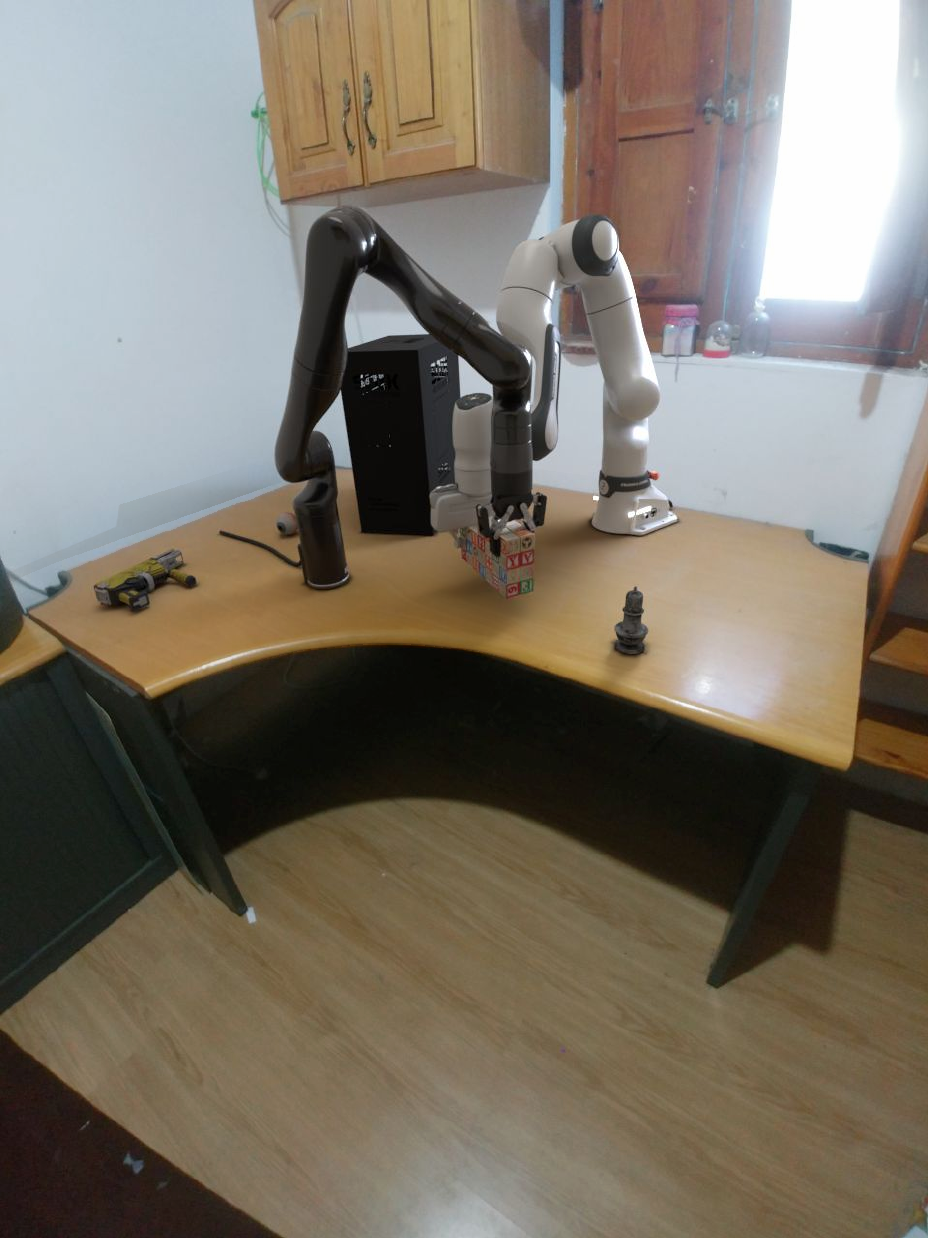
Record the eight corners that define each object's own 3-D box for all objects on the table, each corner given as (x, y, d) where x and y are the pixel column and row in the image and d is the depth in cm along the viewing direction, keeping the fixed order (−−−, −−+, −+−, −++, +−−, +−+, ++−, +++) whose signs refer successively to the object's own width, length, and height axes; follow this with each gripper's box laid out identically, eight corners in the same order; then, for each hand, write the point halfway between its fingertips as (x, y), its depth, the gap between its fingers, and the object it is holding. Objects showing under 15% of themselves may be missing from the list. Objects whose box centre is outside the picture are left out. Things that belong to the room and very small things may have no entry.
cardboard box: (433, 535, 159) (417, 349, 136) (361, 532, 163) (335, 352, 141) (465, 489, 190) (457, 332, 168) (404, 488, 195) (388, 335, 172)
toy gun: (219, 557, 146) (169, 546, 150) (142, 598, 126) (87, 585, 129) (222, 574, 148) (172, 563, 152) (147, 618, 128) (92, 604, 132)
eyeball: (273, 537, 164) (268, 516, 161) (287, 528, 169) (282, 508, 166) (291, 539, 161) (286, 518, 158) (305, 530, 166) (301, 510, 163)
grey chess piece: (647, 656, 105) (654, 595, 99) (612, 653, 107) (618, 593, 101) (645, 638, 110) (652, 579, 104) (612, 636, 111) (617, 578, 105)
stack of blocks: (460, 559, 133) (457, 505, 127) (485, 553, 135) (484, 500, 129) (506, 599, 116) (505, 539, 110) (534, 591, 118) (535, 532, 112)
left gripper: (484, 477, 102) (487, 567, 110) (557, 463, 107) (554, 550, 115) (466, 467, 108) (470, 552, 116) (535, 454, 113) (534, 537, 121)
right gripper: (434, 492, 116) (439, 557, 123) (527, 475, 123) (526, 538, 130) (423, 483, 121) (428, 547, 128) (512, 467, 128) (512, 528, 135)
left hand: (512, 551), depth 116 cm, fingers closed on stack of blocks, 6 cm apart
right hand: (478, 542), depth 129 cm, fingers open, 8 cm apart
